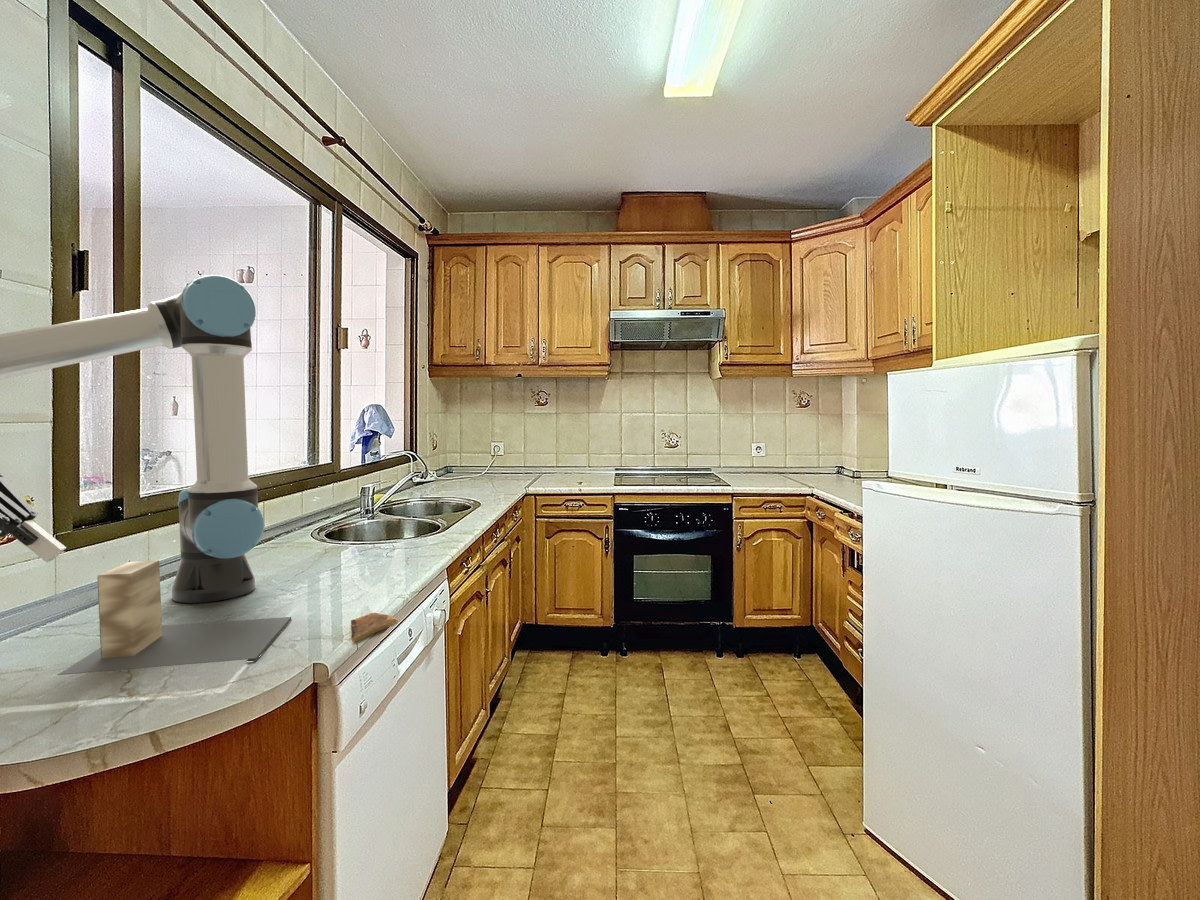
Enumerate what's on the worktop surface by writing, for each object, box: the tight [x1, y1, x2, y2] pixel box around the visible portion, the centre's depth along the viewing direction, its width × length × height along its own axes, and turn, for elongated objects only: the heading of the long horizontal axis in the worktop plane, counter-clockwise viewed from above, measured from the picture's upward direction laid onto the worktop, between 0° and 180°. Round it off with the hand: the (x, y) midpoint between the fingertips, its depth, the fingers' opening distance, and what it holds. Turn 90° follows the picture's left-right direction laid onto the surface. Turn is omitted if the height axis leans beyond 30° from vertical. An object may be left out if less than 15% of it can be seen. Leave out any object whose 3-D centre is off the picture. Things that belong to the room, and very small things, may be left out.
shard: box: [350, 612, 399, 643], centre depth 107 cm, size 11×8×2 cm
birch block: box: [97, 559, 163, 658], centre depth 98 cm, size 5×9×13 cm, turn 13°
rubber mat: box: [57, 616, 292, 676], centre depth 100 cm, size 26×20×1 cm
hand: (56, 554), depth 95 cm, fingers closed
